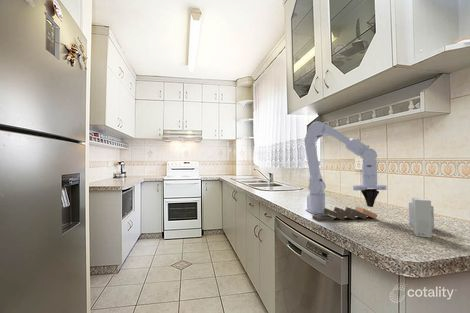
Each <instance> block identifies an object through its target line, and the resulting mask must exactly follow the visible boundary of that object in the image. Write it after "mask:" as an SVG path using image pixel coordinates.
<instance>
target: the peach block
mask: <svg viewBox="0 0 470 313" xmlns="http://www.w3.org/2000/svg"><path fill="white" fill-rule="evenodd" d="M354 208H355V209H354V210H356V211H359V212H361V213H363V214H366V215H367V217H368V218H371V219H375V220H376V219H377V217H378V214H377V213H375V212H372V211H370V210H368V209H366V208H363V207H360V206H355V207H354Z"/></svg>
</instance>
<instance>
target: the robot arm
mask: <svg viewBox="0 0 470 313" xmlns="http://www.w3.org/2000/svg"><path fill="white" fill-rule="evenodd" d="M323 136H331V137H333V138H335V139H336V140H338V141H340V142H341V143H343V144H344V145H345V149H347V150H348V151H349V152H351V153H353V154H355V155H357V156H358V157H361V159H362V165H361V175H362V177H361V179H362V180H361V182H362V183H361V184H360V185H359V184H358V185H353V186H352V187H353V190H352V191H360V192H361V194H362V195H363V197H364V199H365V203H366V207H367V208H368V207H369V208H373V207H374V205H375V202H376V199H377V197H378V195H379V194H380V191H387V185H384V184H378V165H377V163H378V162H377V157H378V154H377V151H376V150H375V149H373V148H370V145H368V144H365V143H363V142H362V141H361V139H359V138H355V137H352V138H349V137H347V136H346V135H345V134H344V133H342V132H340V131H338V129H336V128H334V127H332V126H331V125H328V124H325V123H322V122H321V121H320V120H317V121H313V122H312V123H311V124H310V125H309V126H308V127H307V132H306V135H305V137H304V140H303V142H304V148H305V154H306V158H307V159H306V160H307V165H308V171H309V172H308V173H309V178H308V179H309V181H308V182H309V183H308V191H309V193H308V195H307V197H306V208H305V211H306V212H309V213H311V214H313V215H321V214H323V215H324V214H325V213H324V212H323V211H324V208H326V193H325V189H326V185H327V184H326V183H325V181H324V180H323V176H322V174H321V169H320V163H319V158H318V151H317V146H316V143H317V142H318V140H319V139H320V138H321V137H323Z"/></svg>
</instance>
